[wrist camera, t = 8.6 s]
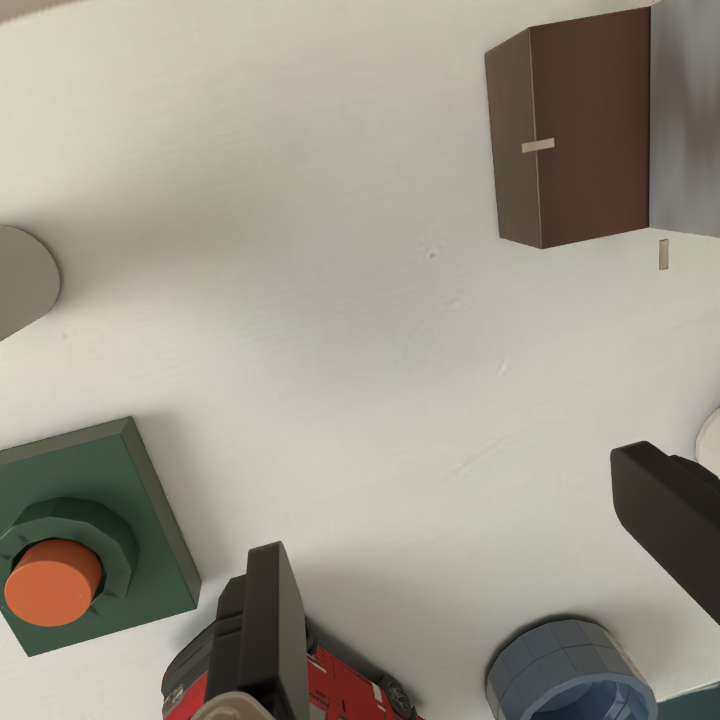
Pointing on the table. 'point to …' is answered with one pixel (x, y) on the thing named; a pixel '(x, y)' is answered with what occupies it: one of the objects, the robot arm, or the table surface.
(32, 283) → the beverage can
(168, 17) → the table surface
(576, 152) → the base
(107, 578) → the green button base
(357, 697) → the toy car
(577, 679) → the grey round pet bowl
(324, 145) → the table surface
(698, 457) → the coffee cup
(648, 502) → the robot arm
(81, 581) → the button
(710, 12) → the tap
